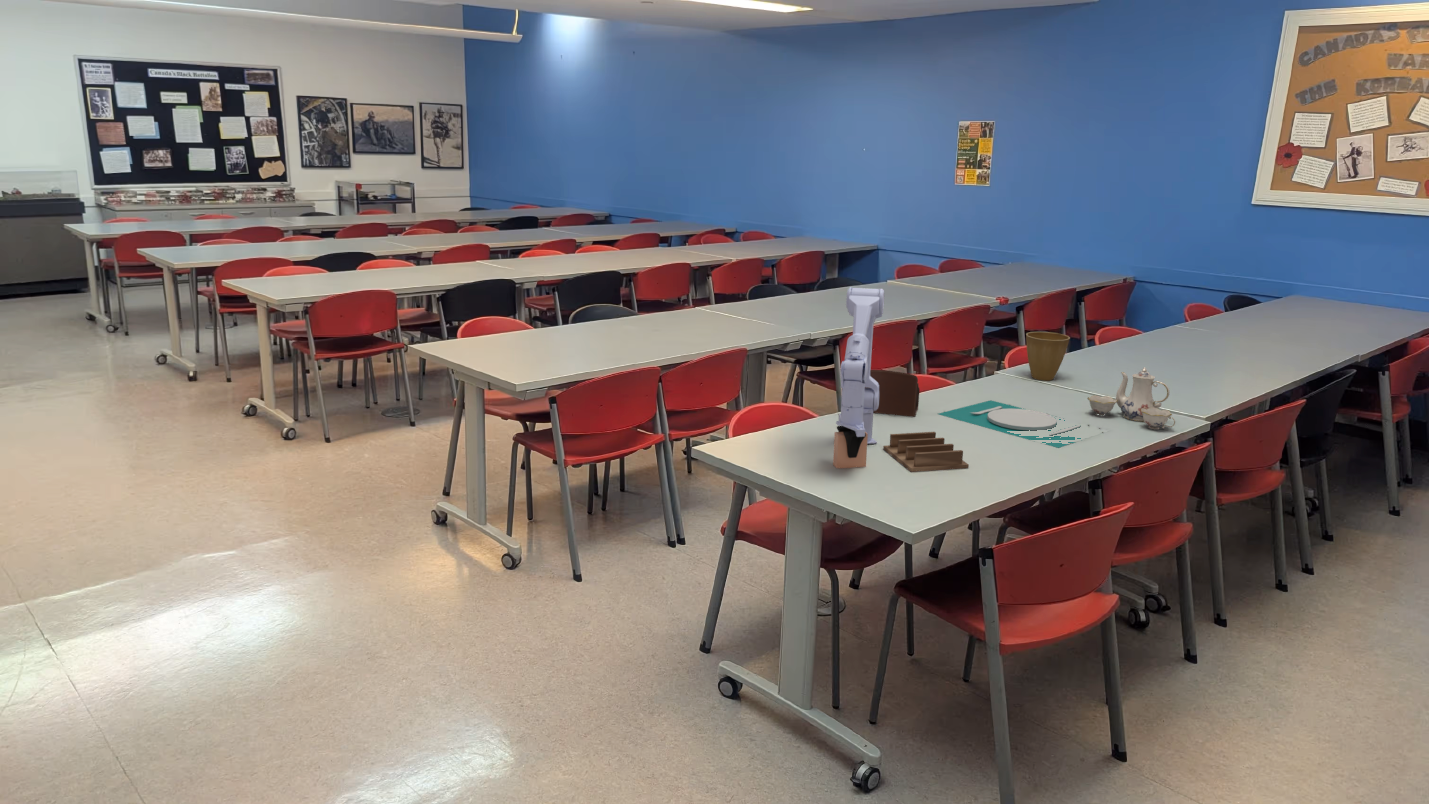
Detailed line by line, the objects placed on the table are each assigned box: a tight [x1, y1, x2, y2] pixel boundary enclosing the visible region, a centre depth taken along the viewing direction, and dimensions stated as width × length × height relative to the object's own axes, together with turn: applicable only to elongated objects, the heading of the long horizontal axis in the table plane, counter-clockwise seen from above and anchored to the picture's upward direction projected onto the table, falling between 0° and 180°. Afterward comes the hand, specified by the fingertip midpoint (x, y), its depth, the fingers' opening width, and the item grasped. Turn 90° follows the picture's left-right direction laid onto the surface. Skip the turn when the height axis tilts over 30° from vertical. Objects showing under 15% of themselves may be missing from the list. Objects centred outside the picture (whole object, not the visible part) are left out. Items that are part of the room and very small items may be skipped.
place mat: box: [938, 400, 1081, 449], centre depth 280 cm, size 45×30×2 cm
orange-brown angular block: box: [832, 431, 868, 469], centre depth 239 cm, size 3×8×9 cm, turn 102°
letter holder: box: [865, 369, 920, 418], centre depth 290 cm, size 10×20×14 cm, turn 72°
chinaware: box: [1086, 367, 1176, 431], centre depth 282 cm, size 28×17×17 cm, turn 42°
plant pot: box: [1025, 331, 1071, 382], centre depth 333 cm, size 15×15×16 cm
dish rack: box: [882, 431, 970, 473], centre depth 246 cm, size 19×16×4 cm
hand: (850, 455), depth 239 cm, fingers closed on orange-brown angular block, 3 cm apart
